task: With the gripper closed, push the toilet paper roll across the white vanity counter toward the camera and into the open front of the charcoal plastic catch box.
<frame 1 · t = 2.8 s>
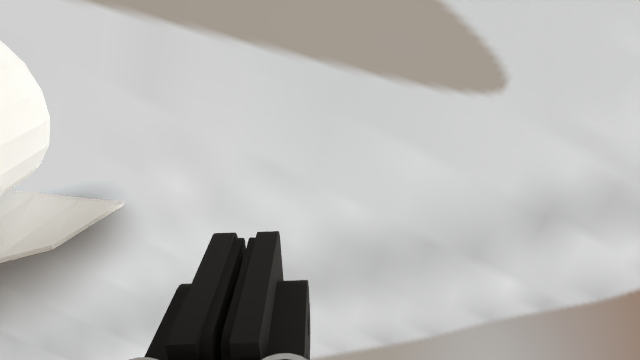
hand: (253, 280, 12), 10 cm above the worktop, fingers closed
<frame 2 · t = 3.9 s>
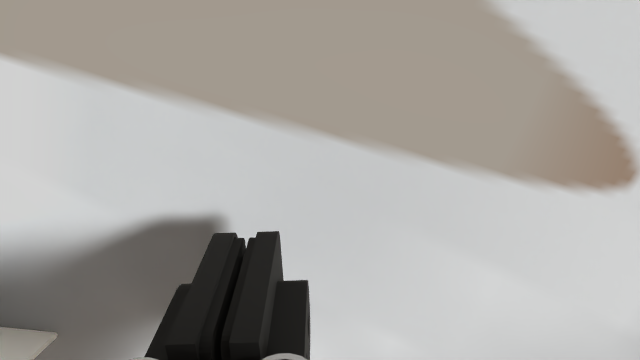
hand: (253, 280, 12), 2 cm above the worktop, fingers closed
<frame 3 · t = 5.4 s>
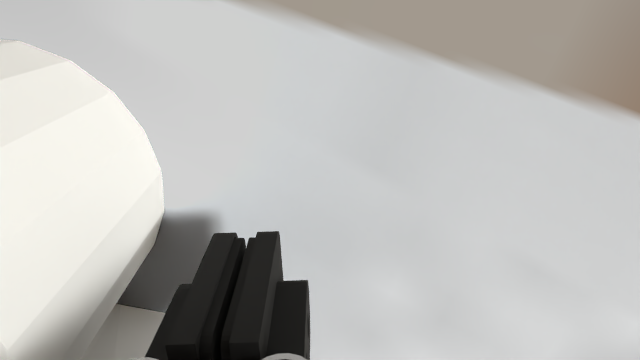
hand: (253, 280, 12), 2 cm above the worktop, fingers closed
toilet paper: (75, 228, 14), on the worktop, touching gripper
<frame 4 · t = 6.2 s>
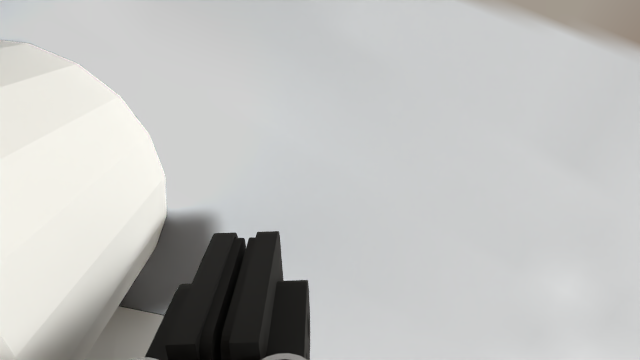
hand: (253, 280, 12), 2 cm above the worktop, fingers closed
toilet paper: (76, 229, 14), on the worktop, touching gripper
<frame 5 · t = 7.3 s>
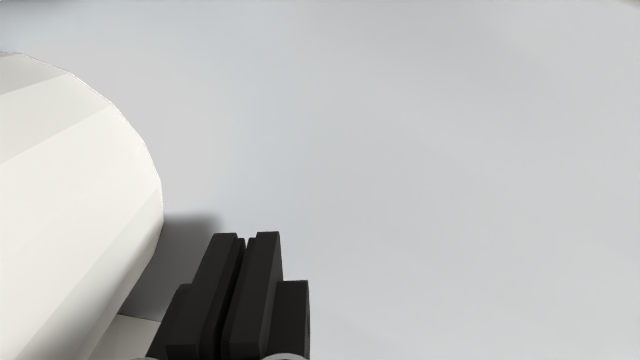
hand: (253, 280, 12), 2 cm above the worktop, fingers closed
toilet paper: (74, 238, 14), on the worktop, touching gripper
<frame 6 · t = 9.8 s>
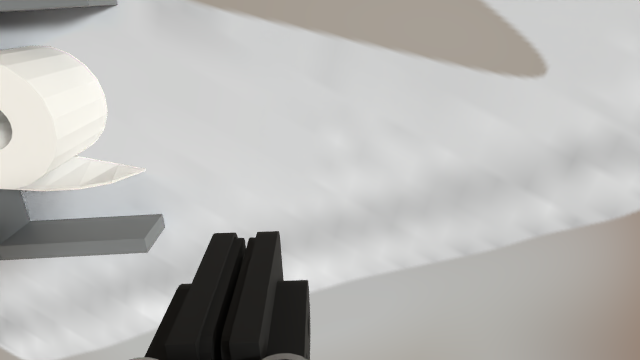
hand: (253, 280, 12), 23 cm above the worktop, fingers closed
catch box: (69, 123, 33), on the worktop
toilet paper: (72, 123, 34), on the worktop
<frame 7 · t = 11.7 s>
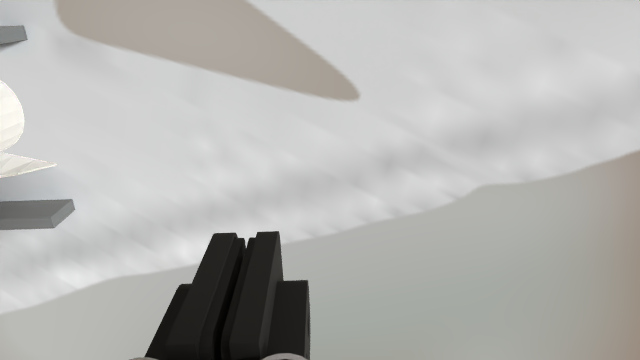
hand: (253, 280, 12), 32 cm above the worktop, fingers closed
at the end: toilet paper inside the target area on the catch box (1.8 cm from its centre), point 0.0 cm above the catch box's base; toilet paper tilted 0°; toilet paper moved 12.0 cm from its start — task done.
